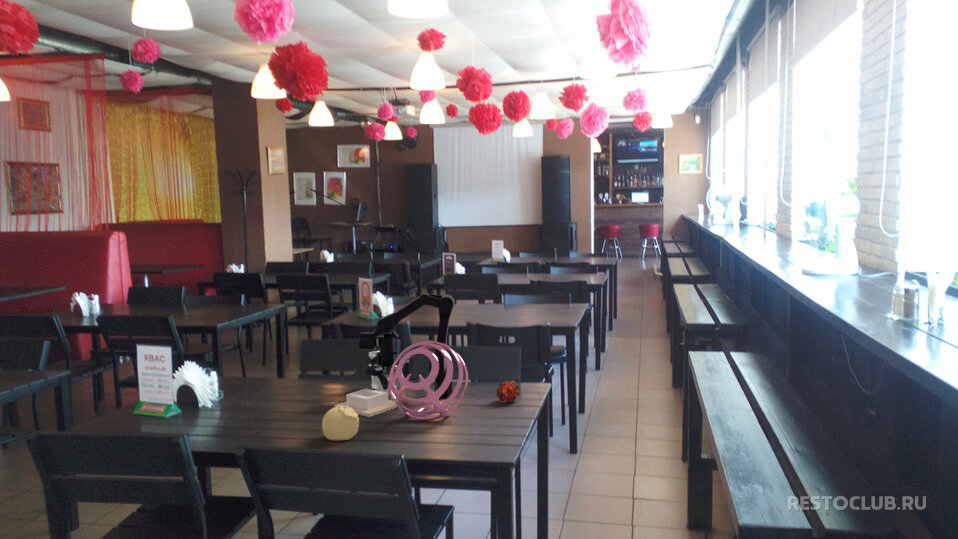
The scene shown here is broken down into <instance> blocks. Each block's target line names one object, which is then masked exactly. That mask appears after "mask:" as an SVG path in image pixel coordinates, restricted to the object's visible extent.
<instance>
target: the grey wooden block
mask: <svg viewBox="0 0 958 539" xmlns="http://www.w3.org/2000/svg"><path fill="white" fill-rule="evenodd" d="M377 387H380V390H379V391H382V392H387V393H388V400H391V401H393V398H392V396H391V394H390V390H389V376H388V381H387V388H386V390H384V389H383V387H382V384H381V382H380V380H379V378H377ZM396 388H397V389H398V390H399V389H400V388H401V384H400V382H399V381H398V378H397V383H396Z"/></svg>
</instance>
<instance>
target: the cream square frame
mask: <svg viewBox="0 0 958 539" xmlns="http://www.w3.org/2000/svg"><path fill="white" fill-rule="evenodd" d="M345 397H346V398H345V399H346V401H344V402H340V403H337V404H334V405H333V408H335V407H336V406H337V405H342V406H345V405H346V406H349V407H351V408H352V409H354V411H355V412H356V413H357V414H358V416H359V415H360V416H364V417H367V418H371V416H372V417H374V415H375V416H377V415H379V414H383V413H386V412H389V411H391V409H392V410H395V409H397V408H399V407H398V406H397V405H396V403H395V402H394V400H390V399H388V393H387V392H382V391H380V390H373V389H372V388H368V387H367V388H363V389H360V390H357V391H354V392H350V393H348V394H346V395H345ZM396 407H397V408H396ZM394 408H395V409H394ZM388 410H389V411H388Z"/></svg>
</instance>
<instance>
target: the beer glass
mask: <svg viewBox="0 0 958 539" xmlns="http://www.w3.org/2000/svg"><path fill="white" fill-rule="evenodd" d="M377 352H380V350H371V351H370V352H368V356H370V355H372V356H373V357H375V356H377ZM369 366H371V364H369V365H368V367H369ZM374 366H381V365H374ZM385 368H386V367H385ZM370 376H371V375H370ZM377 378H378V377H377V376H371V388H370V389H372V390H373V389H375V390H377V391H380V387H377Z"/></svg>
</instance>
